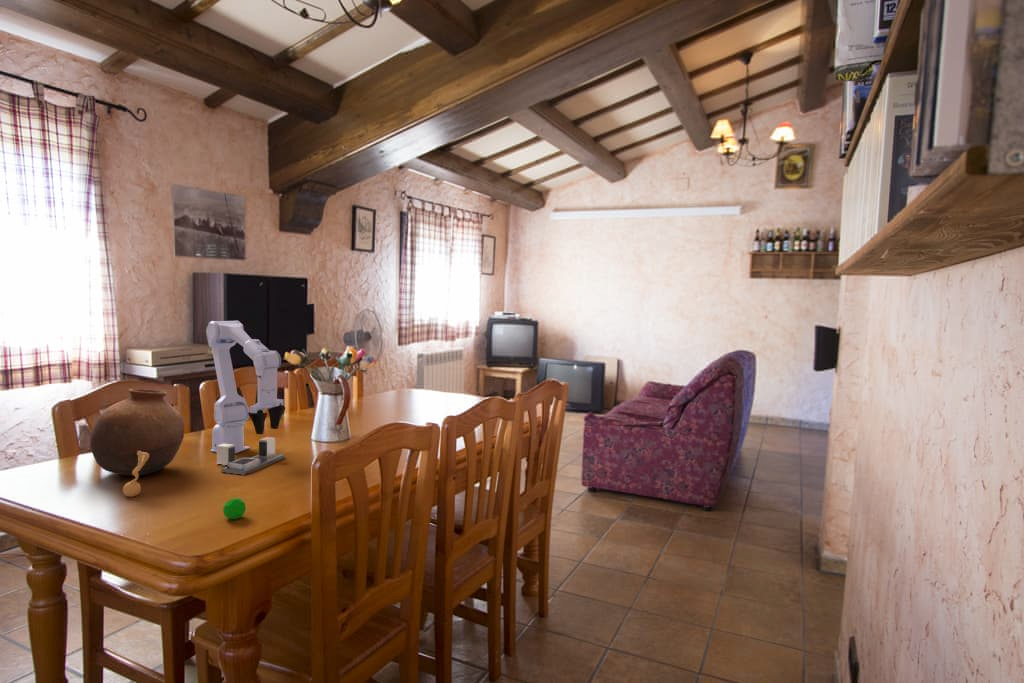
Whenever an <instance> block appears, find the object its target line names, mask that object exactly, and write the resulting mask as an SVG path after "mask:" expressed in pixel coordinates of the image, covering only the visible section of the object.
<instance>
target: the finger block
mask: <svg viewBox="0 0 1024 683" xmlns="http://www.w3.org/2000/svg"><path fill="white" fill-rule="evenodd" d="M235 460H236V453H235V447H234V445H233V444H221V445H218V446H217V452H216V465H217V464H222V465H221V466H225V465H227V463H230V462H233V461H235Z"/></svg>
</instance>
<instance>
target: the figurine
mask: <svg viewBox="0 0 1024 683" xmlns="http://www.w3.org/2000/svg"><path fill="white" fill-rule="evenodd" d="M137 455H138V456H139V457H138V463H137V465H138V466H137V467H136V468H135V469H134V470H133V472H132V474H133V475H134V477H135V478H134V479H131V481H128V482H126V483H125V484H124V485H123V488H122V493H123V494H124V495H125V496H126V497H129V498H132V497H133V498H134V497H136V496H138V495H139V494H140V492H141V489H142V488H141V484H140V483H139V482H138V481H137V480H138V479H139V476H140V475H139V473H137V472H138V471H140V469H141V468H142V467H143V466H144V464H145V462H146V461H147V460H148V458H149V453H146V452H141V451H138V452H137Z"/></svg>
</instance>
